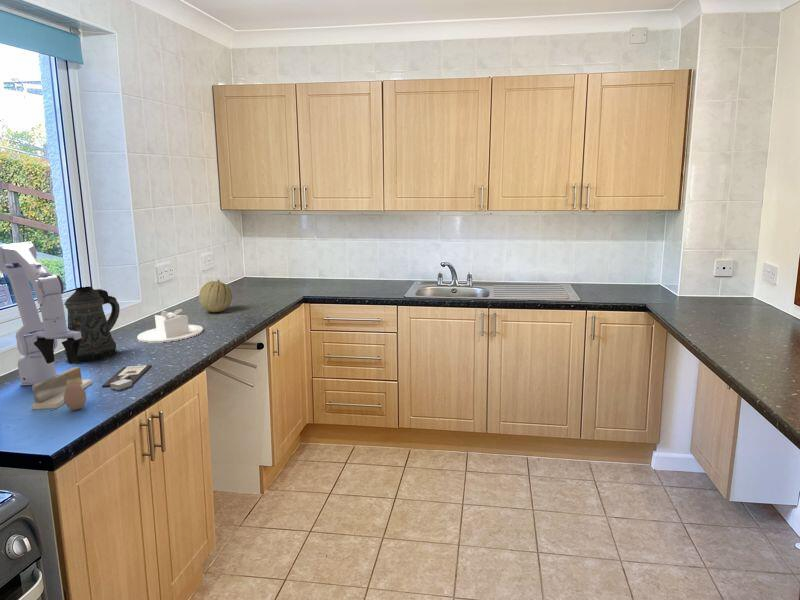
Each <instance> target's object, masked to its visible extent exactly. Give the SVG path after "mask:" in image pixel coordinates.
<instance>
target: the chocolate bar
mask: <svg viewBox="0 0 800 600" xmlns="http://www.w3.org/2000/svg"><path fill="white" fill-rule="evenodd" d="M151 366H152V364H146V365H145V364H143V365H134V366H132V365H131V366H130V365H129V366H123V367H122V368H120V369H119V370H118V371H117V372H116V373H114V374H113V375H112V376H111V377H110V378H109V379H108V380H107V381H105V382H104V383H103V384H102V385H101V387H102V388H111V386H110V383H113V382H116V381H119V379H120V378H121V377H123V376H125V375H126V374H130V375H131V378H129V380H132V386H134V385H135V384H136V383H137V382H138V381H137V380H138V379H139V378H140V377H141V376H142V375H143V374H144V373H145V372H146V371H147V370H148V369H149V368H150V367H151ZM151 368H152V367H151ZM151 368H150V369H151ZM150 369H149V370H150ZM149 370H148V371H149ZM148 371H147V372H148ZM147 372H146V373H147ZM146 373H145V374H146ZM145 374H144V375H145ZM144 375H143V376H144ZM143 376H142V377H143ZM142 377H141V378H142ZM141 378H140V379H141ZM140 379H139V380H140ZM127 380H128V379H127ZM136 381H137V382H136ZM135 382H136V383H135ZM134 383H135V384H134ZM133 384H134V385H133Z"/></svg>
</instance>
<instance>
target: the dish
mask: <svg viewBox="0 0 800 600" xmlns="http://www.w3.org/2000/svg"><path fill="white" fill-rule="evenodd" d="M182 312H183V309H181V308H179V309H176V310H174V312H172V311H171V312H168V311H167V310H161V314H160V315H159V314H155V315H154V322H155V328H151V329H148V330H145V331H142V332H140V333H139V334H137V336H136V337H137V341H138V340H139V341H138V342H140V341H142V342H148V343H147V344H164V343H163V342H167V343H172V342H171V341H175V342H179V341H178V340H180V341H183V340H182V339H185V340H188V339H187V338H189V339H191V338H190V337H192V338H194V337H193V336H195V337H196V335H197V336H199V335H201V334H202V333H203V332H204V328H203V327H202V325H198V324H189V319H188V315H185V314H184V315H183V314H182V315H180V313H182ZM202 331H203V332H202ZM201 332H202V333H201ZM200 333H201V334H200ZM198 334H199V335H198ZM142 342H141V343H142Z"/></svg>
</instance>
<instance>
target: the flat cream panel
mask: <svg viewBox="0 0 800 600" xmlns="http://www.w3.org/2000/svg"><path fill="white" fill-rule="evenodd" d="M92 384H93V379H82V383H81V384H79V385H80V386H81V387H82V388H83V389H86V388H88V387H89V386H91V385H92ZM64 393H65V392H63V393H61V394H59V395H57V396H55V397H53V398H51V399H49V400H47V401H44V402H42V403H35V402H34V403H32V404H31V405H30V408H31V410H46V409H57V408H59V407H61V406H62V405H64V404H65V403H64Z"/></svg>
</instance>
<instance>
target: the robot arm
mask: <svg viewBox="0 0 800 600" xmlns="http://www.w3.org/2000/svg"><path fill="white" fill-rule="evenodd" d="M0 273H1V274H4V275H6V276H7V277H8V280H9V282H10V286H11V288H12V289H11V290H12V291H13V295H14V298H15V302H16V305H17V308H18V311H19V316H20V319H21V322H22V324H23V325H22V326H21V327H20V328H19V329H18V330H17V332H16V333H15V339H16V346H17V350H18V352H19V354H20V357H19V358H18V360H17V368H18V375H19V379H20V383H19V385H20V386H33V385H35V384H37V383H40V382H42V381H44V380H46V379H49V378H51V377H53V376H55V375H58V374H59V373H58V374H57V369H56V362H55V350H56V349H57V347H58V340H64V341H61V344H62V346H63V348H64V351H65V350H66V353H67V356H68V360H67V361H68V363H69V365H73V364H76V363H75V362H77V354H78V349H79V346H80V343H81V341H82V337H81V332H77V331H71V330H69V329H68V323H67V320H66V314H65V308H64V307H65V306H64V303H63V294H64V292H65V290H64V289H65V287H64V282H63V280H62V277H61V276H60V274H53V273H52V272H51V271H50V270H49V269H48V267H46V265H45V264H43V263H41V262H38V261H37V249H36V245H35V244H34V243H33V242H32V241H30V240H29V241H28V240H27V241H25V242H24V241H23V242H16V243H15V242H14V243H5V244H0ZM30 283H31V285H32V288H31V285H30ZM32 289H33V291H34V292H33V291H32ZM33 293H34V294H35V297H36V300H35V298H34V294H33ZM35 301H37V304H38V305H39V308H40V314H41V318H40V315H39V311H38V308H37V305H36V302H35ZM41 319H42V321H41Z"/></svg>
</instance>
